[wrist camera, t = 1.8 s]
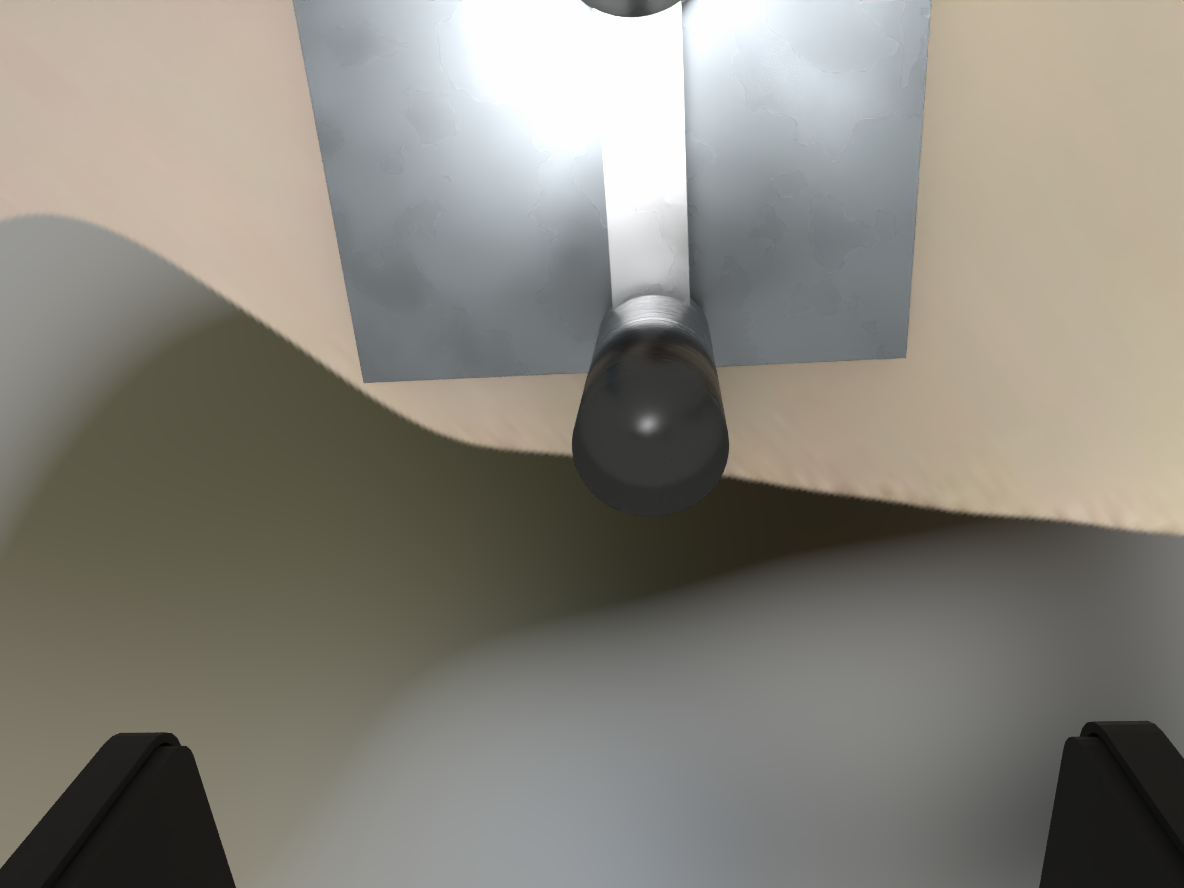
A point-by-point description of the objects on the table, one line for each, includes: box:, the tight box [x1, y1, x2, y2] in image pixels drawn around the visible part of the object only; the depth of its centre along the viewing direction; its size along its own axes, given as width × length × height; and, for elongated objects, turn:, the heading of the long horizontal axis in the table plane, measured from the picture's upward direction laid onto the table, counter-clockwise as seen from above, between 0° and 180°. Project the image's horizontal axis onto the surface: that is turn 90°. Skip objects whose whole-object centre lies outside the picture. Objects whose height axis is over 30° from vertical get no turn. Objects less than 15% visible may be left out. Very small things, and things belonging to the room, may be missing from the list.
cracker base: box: [293, 0, 931, 383], centre depth 23 cm, size 21×19×5 cm
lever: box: [572, 0, 729, 517], centre depth 20 cm, size 18×4×9 cm, turn 4°
